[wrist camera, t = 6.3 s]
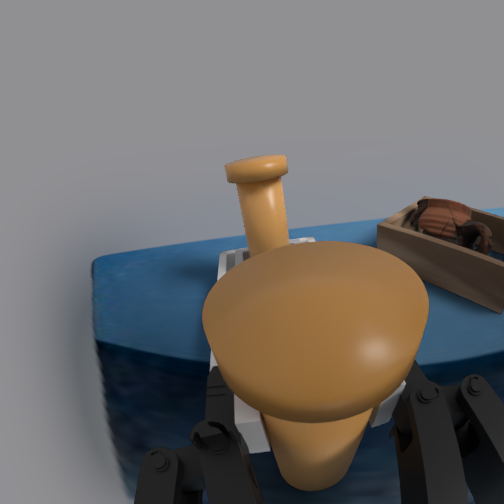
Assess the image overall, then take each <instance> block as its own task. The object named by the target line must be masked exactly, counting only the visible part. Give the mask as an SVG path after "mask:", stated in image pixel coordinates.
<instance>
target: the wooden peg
mask: <svg viewBox="0 0 504 504" xmlns="http://www.w3.org/2000/svg"><path fill="white" fill-rule="evenodd" d="M428 313H429V299H428V295H427V291H426V288H425V286H424V284H423V282H422V280H421V279H420V277H419V276H418V275H417V273H416V272H415V271H414V270H413V269H412V268H411V267H410V266H408V265H407V264H406V263H405V262H403V261H402V260H400V259H399V258H397V257H395V256H393V255H391V254H389V253H387V252H385V251H382V250H380V249H377V248H373V247H370V246H366V245H361V244H356V243H350V242H339V241H315V242H304V243H298V244H292V245H287V246H282V247H279V248H275V249H272V250H269V251H266V252H263V253H260V254H258V255H255V256H253V257H251V258H249V259H247V260H245V261H243V262H241V263H240V264H238V265H236V266H235V267H233V268H232V269H231V270H229V271H228V272H227V273H225V274H224V275H223V276H222V277H221V278H220V279H219V280H218V281H217V282H216V283H215V285H214V286H213V287H212V289H211V290H210V292H209V293H208V295H207V298H206V300H205V302H204V306H203V310H202V322H203V327H204V331H205V334H206V336H207V339H208V342H209V344H210V347H211V350H212V352H213V355H214V358H215V360H216V363H217V365H218V368H219V370H220V372H221V375H222V377H223V379H224V381H225V382H226V384H227V385H228V387H229V388H230V389H231V391H232V392H233V393H234V394H235V395H236V396H237V397H238V398H239V399H241V400H242V401H243V402H245V403H246V404H247V405H249V406H250V407H252V408H254V409H256V410H258V411H260V412H261V414H262V417H263V420H264V423H265V426H266V430H267V433H268V436H269V440H270V443H271V446H272V449H273V452H274V455H275V458H276V461H277V464H278V467H279V470H280V472H281V475H282V477H283V478H284V479H285V481H286V482H287V483H288V484H290V485H291V486H293V487H295V488H297V489H300V490H304V491H319V490H323V489H326V488H329V487H331V486H333V485H335V484H336V483H337V482H339V481H340V480H341V479H342V478H343V477H344V475H345V474H346V472H347V471H348V468H349V466H350V464H351V462H352V460H353V458H354V455H355V453H356V451H357V448H358V446H359V444H360V441H361V439H362V436H363V434H364V431H365V429H366V426H367V423H368V421H369V418H370V415H371V412H372V409H373V407H375V406H377V405H378V404H380V403H381V402H383V401H384V400H385V399H387V398H388V397H390V396H391V395H392V394H393V393H394V392H395V391H396V390H397V389H398V388H399V387H400V385H401V384H402V383H403V381H404V380H405V379H406V377H407V376H408V374H409V372H410V370H411V368H412V366H413V363H414V360H415V357H416V354H417V351H418V348H419V345H420V342H421V339H422V336H423V332H424V329H425V326H426V322H427V317H428Z"/></svg>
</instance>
